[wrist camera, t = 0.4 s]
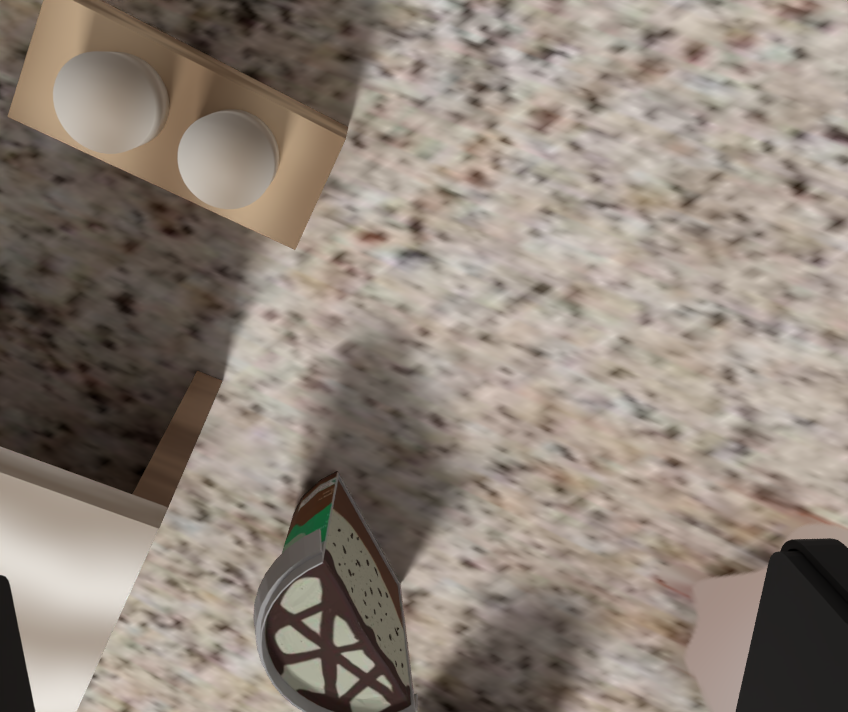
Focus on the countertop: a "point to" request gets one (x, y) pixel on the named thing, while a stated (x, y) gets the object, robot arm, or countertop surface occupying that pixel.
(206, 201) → the tan toy brick
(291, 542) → the food container
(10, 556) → the wooden mini stool
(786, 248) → the countertop surface
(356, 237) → the countertop surface
